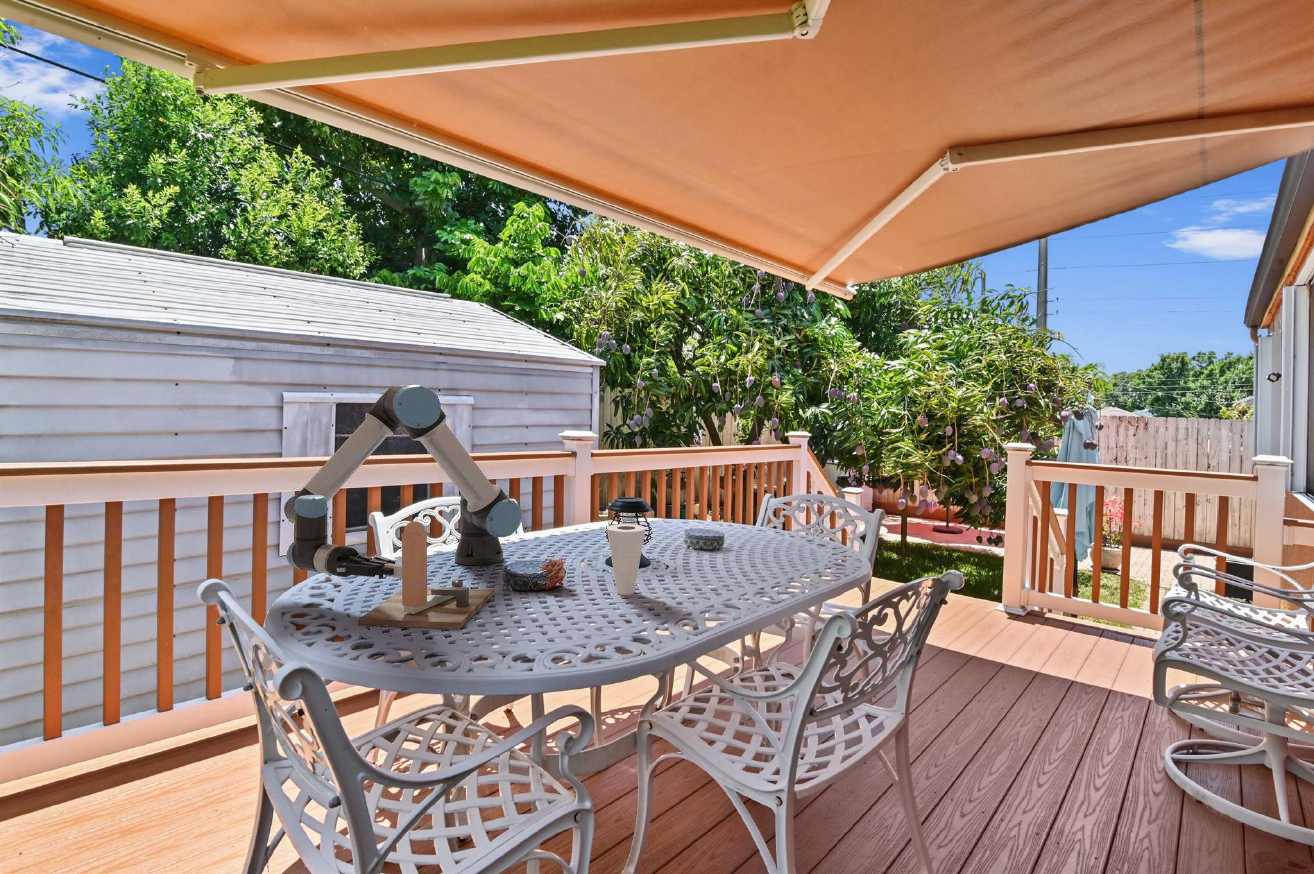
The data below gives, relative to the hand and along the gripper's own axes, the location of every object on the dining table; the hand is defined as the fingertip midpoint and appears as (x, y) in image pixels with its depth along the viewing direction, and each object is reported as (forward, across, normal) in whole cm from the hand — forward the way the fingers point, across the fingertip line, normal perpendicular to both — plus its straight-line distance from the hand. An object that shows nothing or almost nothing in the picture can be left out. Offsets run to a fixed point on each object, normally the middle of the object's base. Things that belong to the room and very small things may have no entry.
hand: (406, 572), depth 164 cm
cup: (+36, -44, -11) cm, 58 cm away
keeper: (+4, -13, -9) cm, 16 cm away
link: (+2, -8, -9) cm, 13 cm away
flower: (+16, -38, -11) cm, 42 cm away
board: (0, -7, -11) cm, 13 cm away
